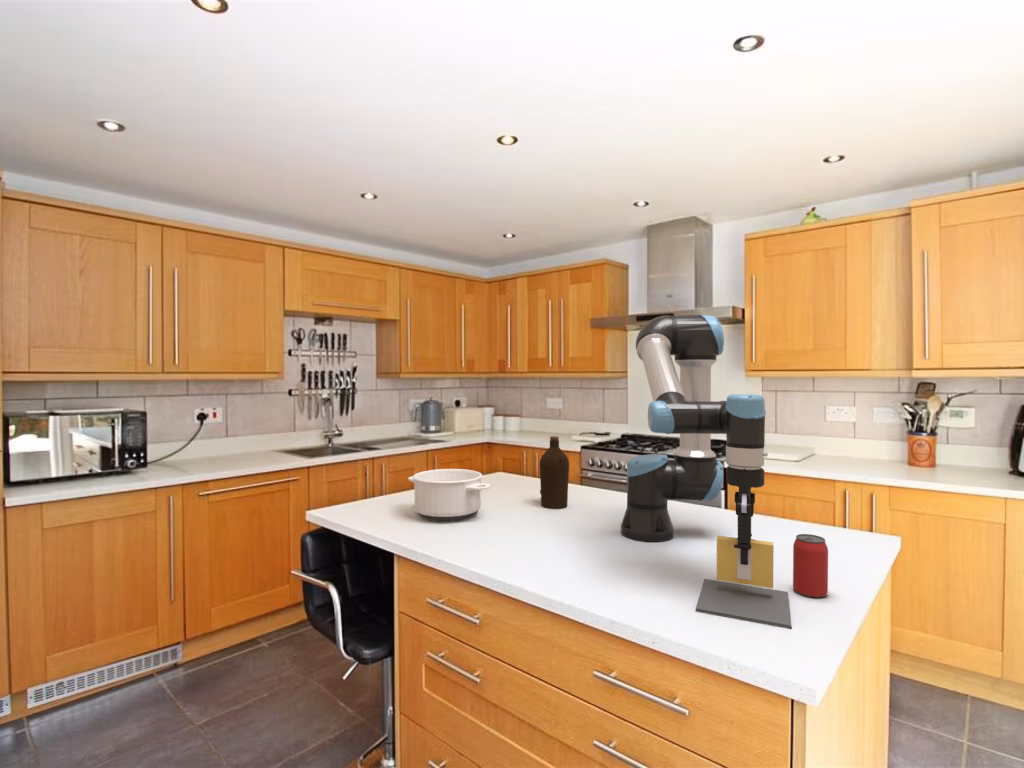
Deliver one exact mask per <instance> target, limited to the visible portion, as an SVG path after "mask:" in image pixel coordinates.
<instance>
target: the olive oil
mask: <svg viewBox="0 0 1024 768" xmlns="http://www.w3.org/2000/svg"><path fill="white" fill-rule="evenodd" d="M549 439H550V440H549V447H548V448H547V450H546V451H545V452H544V453H543V454H542V455H541V457H540V460H539V478H540V481H539V482H540V489H539V494H540V504H541V507H542V508H545V509H550V510H558V509H559V510H561V509H565V508H567V507H568V502H569V501H568V499H569V498H568V497H569V496H568V494H569V478H570V477H569V475H570V462H569V458H568V456H567V455H566V453H565V452H564V451H563V450H562V449H561V448H560V440H559V439H560V438H559V436H557V435H555V436H552V435H551V436H549Z"/></svg>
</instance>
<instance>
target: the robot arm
mask: <svg viewBox="0 0 1024 768" xmlns="http://www.w3.org/2000/svg"><path fill="white" fill-rule="evenodd" d="M724 337H725V336H724V331H723V328H722V324H721V323H720V320H719V319H718V318H717V317H716V316H713V315H709V314H708V315H706V314H705V315H704V314H693V315H692V314H689V315H688V314H687V315H685V314H684V315H683V314H682V315H681V314H680V315H679V314H678V315H667V314H666V315H661V316H656V317H654V318H652V319H650V320H649V321H648V322H646V323H645V324H644V325H643V327H641V329H640V330H639V332H638V334H637V337H636V339H635V350H636V354H637V357H638V358H639V359H640V360H641V361H642V364H643V367H644V370H645V371H644V372H645V374H646V378H647V382H648V386H649V389H650V393H651V398H652V401H651V402H650V403H649V404H648V409H647V422H648V423H647V424H648V428H649V430H650V431H651V432H652V433H656V434H658V433H659V434H666V435H670V434H676V435H677V434H678V435H679V448H678V449H677V450H676V451H675V452H673V453H674V457H673V458H674V459H669V458H668V455H667V454H664V453H651V454H643V455H637V456H633V457H632V458H630V459H628V462H627V467H626V473H625V475H626V485H627V486H626V487H627V488H626V491H627V493H626V509H625V512H624V515H623V518H622V521H621V525H620V534H621V535H623V536H624V537H626V538H628V539H631V540H636V541H641V542H650V543H651V542H652V543H653V542H654V543H655V542H665V541H669V540H671V539H673V538H674V526H673V523H672V519H671V516H670V513H669V510H668V501H669V500H672V501H673V500H675V501H677V500H678V501H680V500H681V501H699V502H702V501H713V500H715V499H716V498H718V497H719V495H720V493H721V491H722V488H723V484H724V469H723V468H724V466H723V463H722V462H721V461H720V460H718V459H717V454H716V453H715V452H714V451H713V450H712V449H711V445H712V444H711V442H712V441H711V439H712V438H711V435H720V434H721V435H726V438H725V439H726V442H725V443H726V445H725V463H726V464H727V465H728V466H726V468H725V481H726V484H728V485H729V486H733V487H737V488H738V491H734V502H735V515H736V516H737V538H738V543H737V545H736V544H734V548H737V578H740V579H747V580H751V540H755V539H752V536H753V535H752V517H754V513H755V512H754V511H755V510H754V508H755V507H754V506H755V502H756V493H754V492H752V488H754V489H755V488H756V489H757V488H761V487H764V485H765V469H764V468H763V467H764V466H765V457H768V455H769V454H768V452H767V451H765V443H766V442H765V438H766V437H765V436H766V435H765V433H766V431H765V429H766V428H765V427H766V425H765V424H766V413H767V411H766V407H765V398H764V396H762V395H760V394H747V393H746V394H744V393H735V394H728V395H727V397H726V400H720V401H711V400H712V398H711V396H712V393H711V391H712V390H711V389H712V388H711V387H712V383H711V382H712V378H711V377H712V366H713V365H714V364H715V363H717V356H720V355H722V353H723V352H724V346H725V338H724ZM672 356H674V362H675V364H676V365H678V367H679V375H678V373H677V370H676V367H675V364H674V362H673V358H672Z"/></svg>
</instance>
